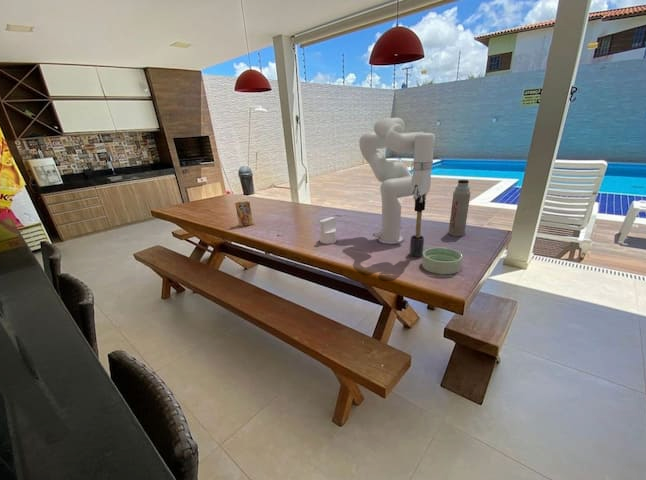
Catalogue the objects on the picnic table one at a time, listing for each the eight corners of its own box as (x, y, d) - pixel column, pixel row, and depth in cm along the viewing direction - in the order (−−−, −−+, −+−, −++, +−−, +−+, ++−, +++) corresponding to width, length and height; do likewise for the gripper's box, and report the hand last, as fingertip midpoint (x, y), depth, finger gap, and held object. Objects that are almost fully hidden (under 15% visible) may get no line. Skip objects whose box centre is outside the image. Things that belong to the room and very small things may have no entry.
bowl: (424, 275, 124) (425, 261, 121) (419, 259, 137) (420, 247, 135) (464, 276, 121) (466, 262, 119) (456, 260, 135) (457, 247, 132)
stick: (415, 238, 137) (418, 198, 129) (415, 236, 138) (417, 197, 131) (420, 238, 136) (423, 198, 129) (419, 236, 138) (422, 196, 130)
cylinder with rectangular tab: (328, 236, 171) (327, 215, 166) (340, 240, 165) (339, 218, 160) (316, 241, 166) (315, 219, 160) (328, 245, 160) (327, 223, 155)
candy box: (253, 222, 203) (249, 200, 197) (253, 224, 200) (249, 201, 193) (239, 224, 202) (235, 201, 195) (239, 226, 198) (234, 202, 192)
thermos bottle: (452, 236, 160) (459, 182, 148) (445, 231, 168) (452, 179, 155) (467, 235, 161) (475, 181, 149) (460, 230, 168) (467, 178, 156)
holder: (410, 258, 139) (411, 239, 136) (409, 253, 145) (410, 235, 141) (423, 258, 138) (424, 239, 135) (421, 253, 144) (423, 235, 140)
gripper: (422, 163, 132) (419, 205, 140) (405, 168, 121) (403, 214, 129) (439, 163, 128) (435, 207, 135) (423, 169, 117) (420, 216, 124)
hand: (419, 210), depth 132 cm, fingers closed on stick, 2 cm apart
